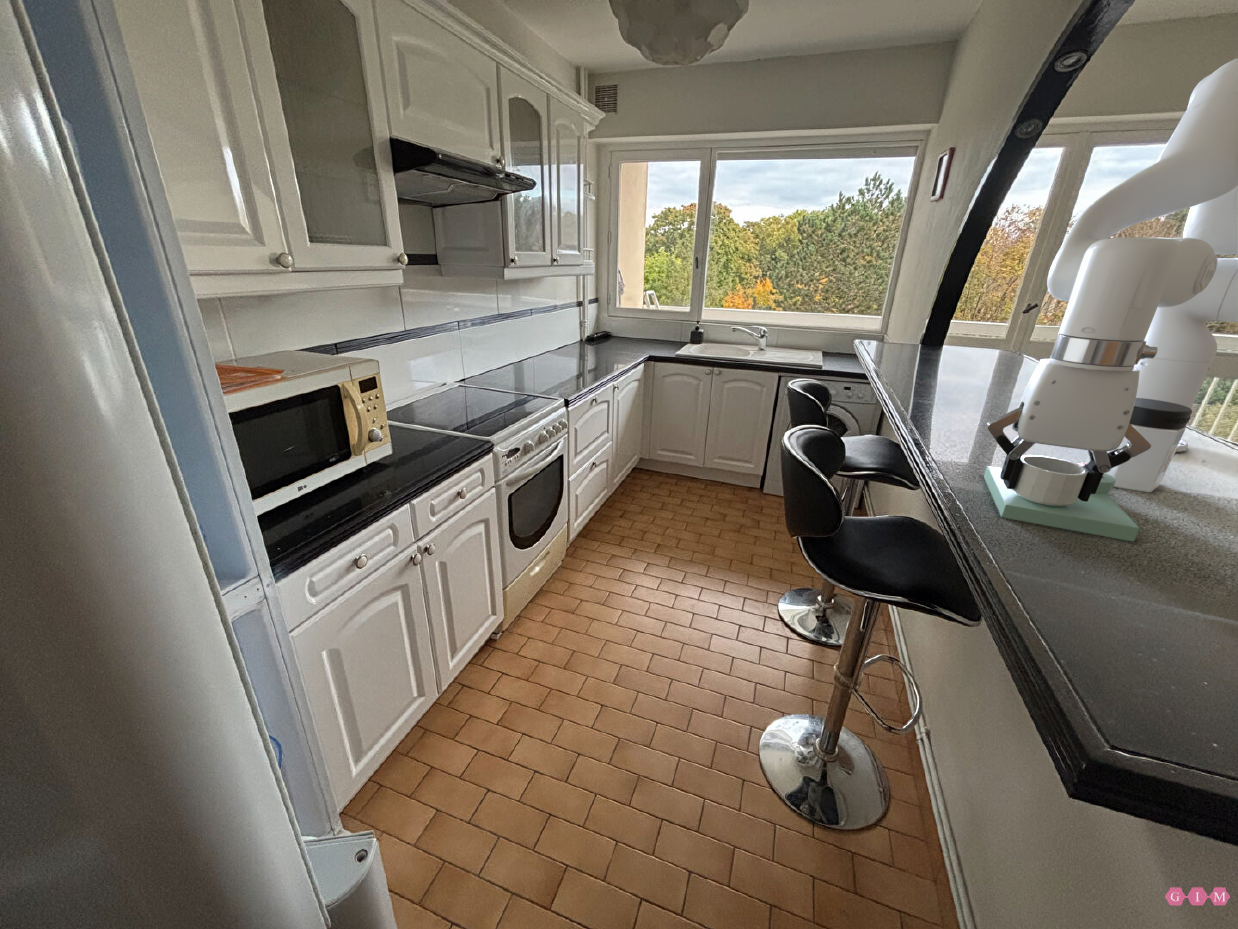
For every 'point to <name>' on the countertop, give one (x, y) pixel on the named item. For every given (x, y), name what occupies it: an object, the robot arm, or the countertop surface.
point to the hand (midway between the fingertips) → (1043, 490)
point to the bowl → (1050, 480)
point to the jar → (1152, 443)
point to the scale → (1066, 510)
